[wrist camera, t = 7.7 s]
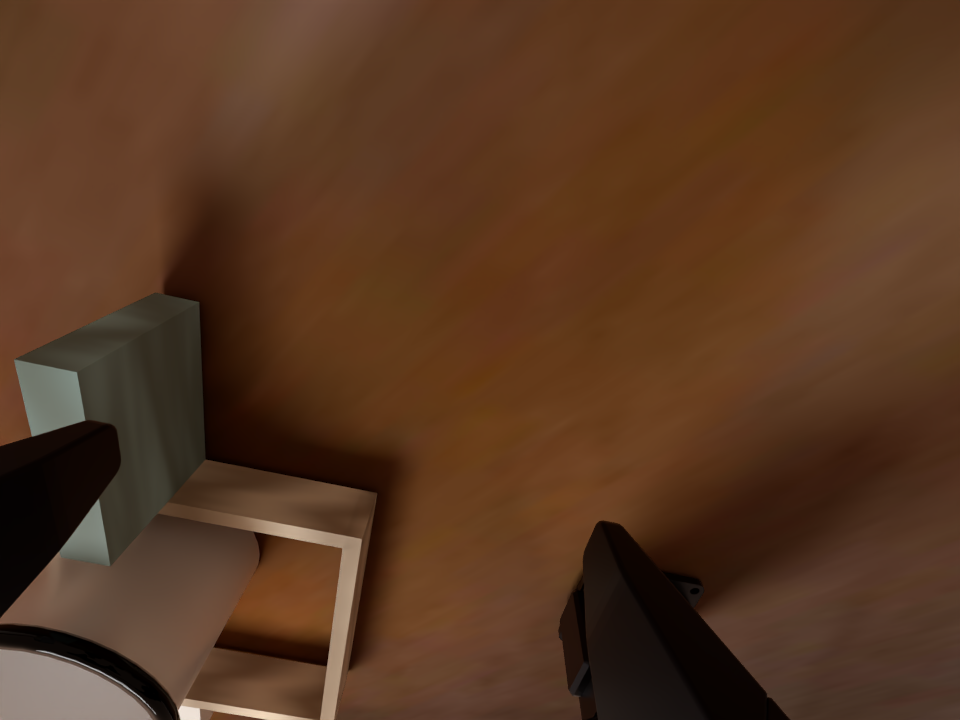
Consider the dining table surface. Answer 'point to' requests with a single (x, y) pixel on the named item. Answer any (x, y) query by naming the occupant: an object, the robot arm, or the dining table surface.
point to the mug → (123, 625)
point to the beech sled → (194, 487)
